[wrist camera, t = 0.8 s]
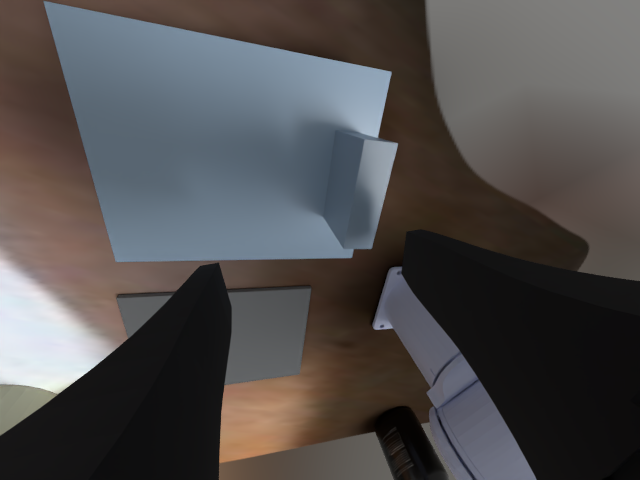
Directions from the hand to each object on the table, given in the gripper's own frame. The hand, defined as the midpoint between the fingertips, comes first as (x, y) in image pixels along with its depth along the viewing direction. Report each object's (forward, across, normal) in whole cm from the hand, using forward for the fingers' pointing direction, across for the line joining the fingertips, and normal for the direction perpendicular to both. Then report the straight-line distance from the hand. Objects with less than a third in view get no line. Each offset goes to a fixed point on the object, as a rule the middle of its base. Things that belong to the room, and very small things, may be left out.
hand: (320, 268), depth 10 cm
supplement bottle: (+11, -12, +39) cm, 42 cm away
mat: (+10, +7, +14) cm, 19 cm away
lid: (+7, +2, -3) cm, 8 cm away
